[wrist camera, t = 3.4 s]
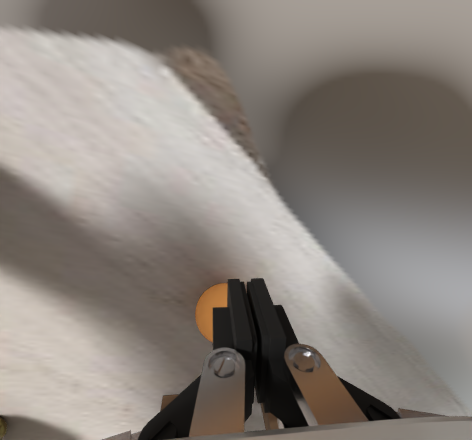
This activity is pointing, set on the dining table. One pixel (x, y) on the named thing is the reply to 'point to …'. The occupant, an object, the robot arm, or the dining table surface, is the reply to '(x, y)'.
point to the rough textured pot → (2, 428)
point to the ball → (210, 308)
